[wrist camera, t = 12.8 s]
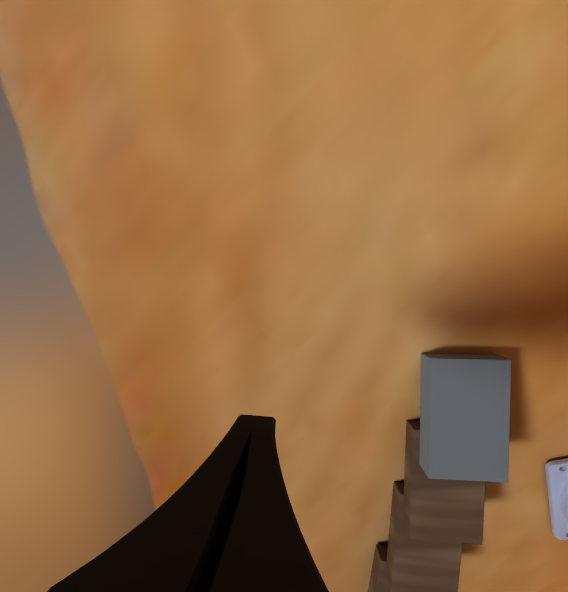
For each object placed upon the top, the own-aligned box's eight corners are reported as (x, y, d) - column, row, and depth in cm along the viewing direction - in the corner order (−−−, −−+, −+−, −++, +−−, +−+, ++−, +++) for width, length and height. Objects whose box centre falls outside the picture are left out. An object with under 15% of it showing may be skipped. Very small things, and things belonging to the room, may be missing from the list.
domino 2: (400, 494, 23) (391, 592, 23) (466, 501, 23) (456, 601, 23) (393, 480, 25) (385, 573, 25) (455, 487, 24) (446, 581, 25)
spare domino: (430, 358, 19) (428, 478, 20) (511, 360, 19) (508, 482, 19) (421, 353, 21) (419, 464, 21) (495, 354, 21) (492, 467, 21)
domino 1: (414, 429, 21) (410, 538, 21) (487, 434, 21) (482, 544, 21) (406, 419, 23) (402, 520, 23) (474, 423, 22) (469, 526, 23)
